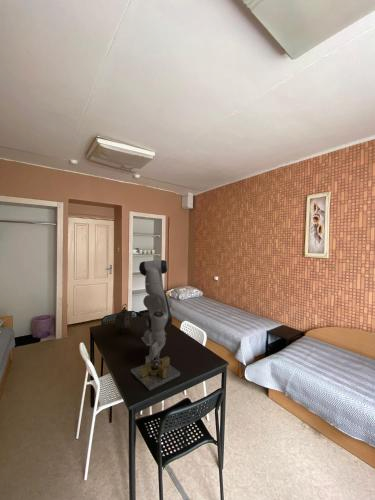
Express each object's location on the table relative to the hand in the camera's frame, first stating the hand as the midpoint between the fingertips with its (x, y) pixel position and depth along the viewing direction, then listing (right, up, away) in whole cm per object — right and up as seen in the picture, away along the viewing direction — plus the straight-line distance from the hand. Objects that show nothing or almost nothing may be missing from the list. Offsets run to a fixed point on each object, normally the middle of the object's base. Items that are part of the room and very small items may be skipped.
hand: (157, 357), depth 142 cm
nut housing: (0, -6, -9) cm, 11 cm away
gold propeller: (0, -3, -9) cm, 10 cm away
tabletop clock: (-40, -4, +59) cm, 72 cm away
